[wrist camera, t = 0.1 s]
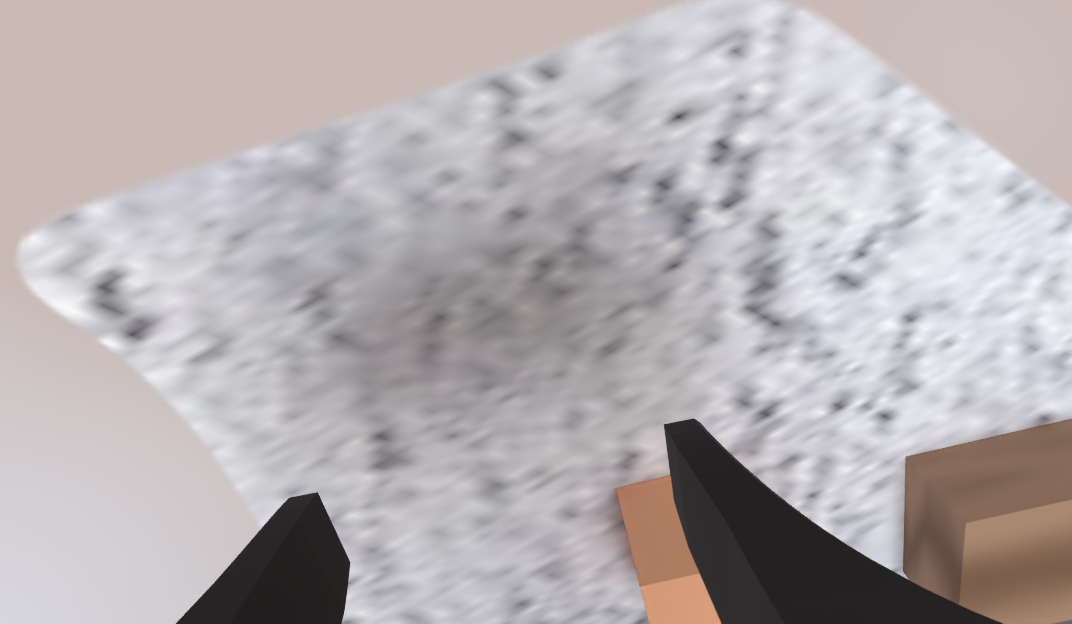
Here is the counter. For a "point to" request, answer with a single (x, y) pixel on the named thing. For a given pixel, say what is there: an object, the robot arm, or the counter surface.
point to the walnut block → (995, 524)
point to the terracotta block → (663, 556)
